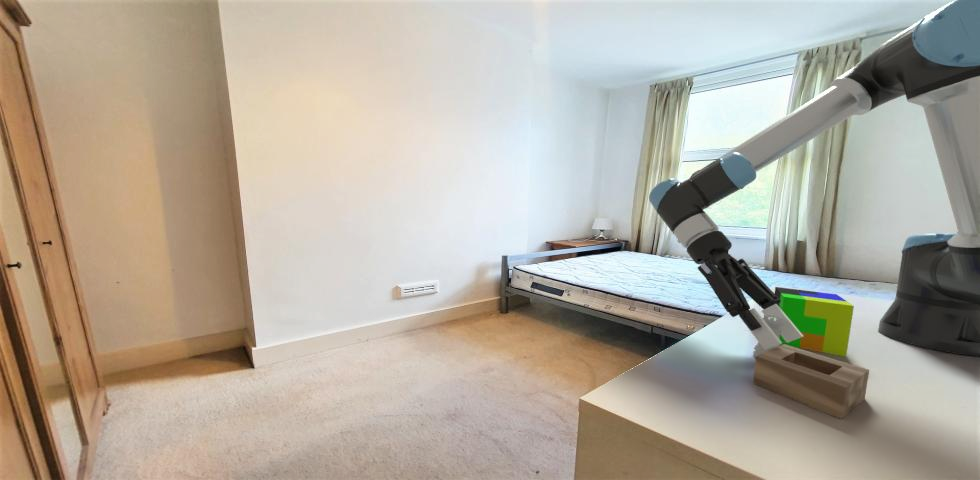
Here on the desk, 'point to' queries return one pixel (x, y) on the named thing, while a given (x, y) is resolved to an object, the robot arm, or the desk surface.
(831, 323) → the puzzle toy
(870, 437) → the desk surface
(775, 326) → the rook chess piece
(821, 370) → the socket block
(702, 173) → the robot arm
